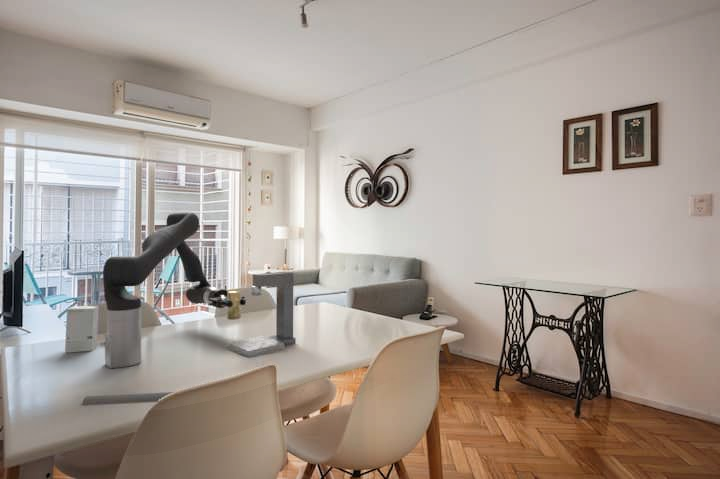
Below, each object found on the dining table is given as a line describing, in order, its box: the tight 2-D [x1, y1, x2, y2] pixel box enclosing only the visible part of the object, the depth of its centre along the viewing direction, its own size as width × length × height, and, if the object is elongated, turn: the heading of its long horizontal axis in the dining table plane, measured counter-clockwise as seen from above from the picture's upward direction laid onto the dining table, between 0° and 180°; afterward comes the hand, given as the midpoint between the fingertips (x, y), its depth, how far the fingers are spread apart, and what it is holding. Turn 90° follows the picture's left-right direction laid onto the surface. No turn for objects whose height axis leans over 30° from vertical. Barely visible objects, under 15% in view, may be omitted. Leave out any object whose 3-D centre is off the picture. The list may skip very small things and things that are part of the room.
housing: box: [226, 290, 242, 320], centre depth 157 cm, size 5×5×10 cm
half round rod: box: [82, 391, 173, 406], centre depth 101 cm, size 4×20×2 cm, turn 99°
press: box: [227, 271, 297, 358], centre depth 150 cm, size 21×20×26 cm
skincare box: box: [64, 305, 99, 353], centre depth 143 cm, size 8×6×15 cm
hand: (237, 303), depth 155 cm, fingers closed on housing, 5 cm apart
